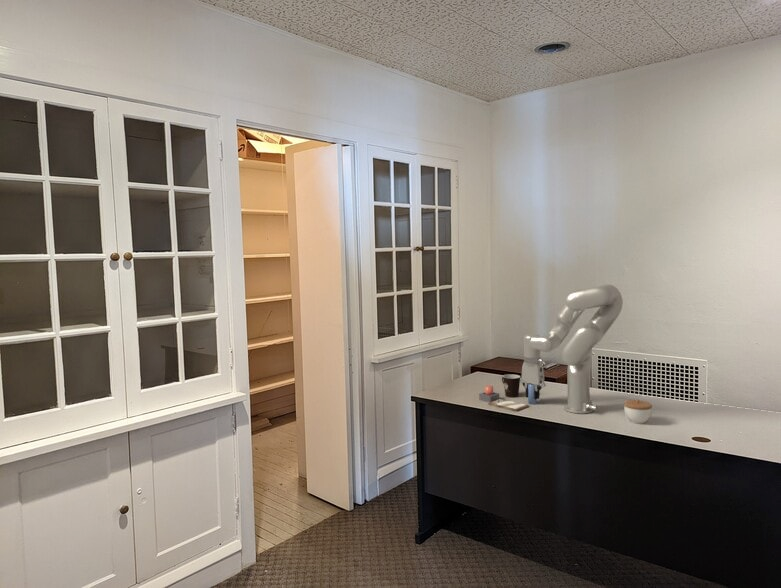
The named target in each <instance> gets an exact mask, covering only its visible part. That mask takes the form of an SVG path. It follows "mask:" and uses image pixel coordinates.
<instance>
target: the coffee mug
mask: <svg viewBox="0 0 781 588" xmlns="http://www.w3.org/2000/svg"><path fill="white" fill-rule="evenodd" d="M520 379H521V375H518V374H512V373H511V374H510V373H509V374H504V375H502V377H501V382H502V384H503V387H504V395H505V397H507V398H519V393H520V385H521V382H520Z"/></svg>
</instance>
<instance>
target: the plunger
mask: <svg viewBox="0 0 781 588" xmlns="http://www.w3.org/2000/svg"><path fill="white" fill-rule="evenodd" d="M484 392H485V395H493V392H494V386H493V385H486V386H484Z"/></svg>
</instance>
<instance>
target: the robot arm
mask: <svg viewBox="0 0 781 588" xmlns="http://www.w3.org/2000/svg"><path fill="white" fill-rule="evenodd" d="M564 302H565V303H564V305H563V306H562V307H561V308H560V310H559V312H558V313H557V314H556V322H555V324H554V325H553V326H552V328H551V330H549V332H548V333H547V334H546V335H542V336H540V335H539V334H537V333H527V334H525V335H524V337H523V363H522V367H521V377H520V384H521V385H522V387H524V389H525V398H528V383H531V384H533V385H534V386H535V391H534V399H537V400H538V399H540V391H541V390H542V389H543V388H545V387H546V386H547V385H546V383H545V373H544V366H543V363H542V362H543V359H542V358H541V352H542V353H550V352H551V351H553V350H556V349H557V348H558V347H559V346H560V345H561V344H562V343H563V341H564V340H565V339H566V337H567V336H568V335H569V333H570V332H571V329H573V326H574V325H575V323H576V322H577V320H578V319H579V318H580V317H581V315H582V314H583V312H584V311H585V310H589V309H595V308H598V309H597V310H596V311H595V313H594V314H593V316H592V317H591V319H589V321H588V322H587V323H586V324H583V325H582V326H580V327H578V329H577V330H576V331H575V332H574V334H573V335H572V336H571V337H570V339H569V340H568V341H567V343H566V344H565V346H564V347H563V348H562V350H561V360H562V361H563V363H565V365H567V372H566V373H567V375H566V378H567V380H566V381H567V384H566V385H567V386H566V387H567V404H565V405H564V406H563V410H564V411H566V412H569V413H571V414H572V413H573V414H582V415H583V414H591V413H592V412H593V411H598V405H597V404H594V403H593V401H592V400H590V397H591V395H590V385H591V383H590V381H591V380H590V376H591V375H590V373H591V372H590V371H591V370H590V368H591V358H592V350H593V348H594V347H595V346H596V345H597V344H599V343H600V342H601V340H602V339H603V338H604V336H605V335H606V334H607V332H608V331H609V330H610V328H611V327H612V325H614V323H615V321H616V320H617V318H619V316H620V314H621V311H622V309H623V304H624V303H623V297H622V294H621V291H620V290H619V289H618V288H617V287H616V286H614V285H613V284H604V285H600V286H596V287H591V288H585V289H576V290H572V291H570V292H569V293H568V294H567V295H566V297H565V301H564Z"/></svg>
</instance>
